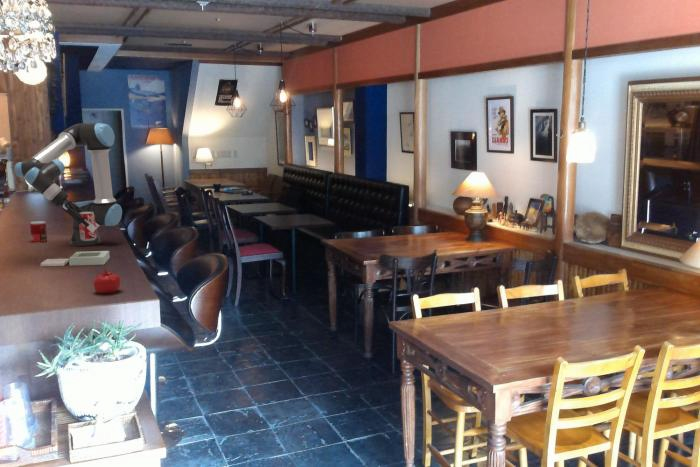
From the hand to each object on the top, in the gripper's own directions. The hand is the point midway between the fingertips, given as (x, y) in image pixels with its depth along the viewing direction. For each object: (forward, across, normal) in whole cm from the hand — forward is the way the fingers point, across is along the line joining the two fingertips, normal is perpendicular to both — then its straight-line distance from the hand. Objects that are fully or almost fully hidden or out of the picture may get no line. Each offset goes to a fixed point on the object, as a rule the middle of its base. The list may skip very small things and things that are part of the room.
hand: (95, 229), depth 299 cm
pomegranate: (+21, +59, 0) cm, 63 cm away
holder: (+8, 0, -14) cm, 16 cm away
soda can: (+1, 0, -6) cm, 6 cm away
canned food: (-18, -59, -41) cm, 74 cm away
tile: (-2, +2, -24) cm, 24 cm away
